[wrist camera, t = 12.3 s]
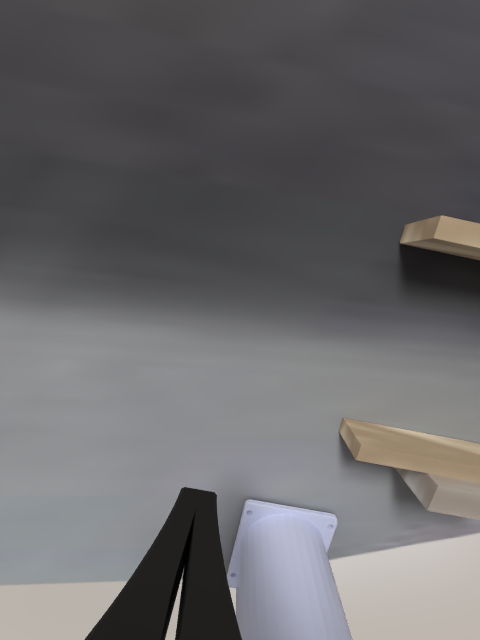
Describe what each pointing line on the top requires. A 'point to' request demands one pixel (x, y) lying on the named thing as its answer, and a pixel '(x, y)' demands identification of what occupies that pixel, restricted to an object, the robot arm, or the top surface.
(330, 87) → the top surface
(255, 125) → the top surface
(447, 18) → the top surface
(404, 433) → the guide channel
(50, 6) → the top surface
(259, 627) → the robot arm
